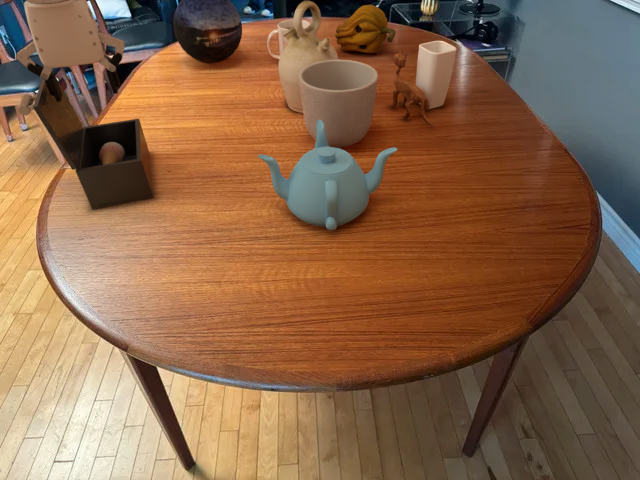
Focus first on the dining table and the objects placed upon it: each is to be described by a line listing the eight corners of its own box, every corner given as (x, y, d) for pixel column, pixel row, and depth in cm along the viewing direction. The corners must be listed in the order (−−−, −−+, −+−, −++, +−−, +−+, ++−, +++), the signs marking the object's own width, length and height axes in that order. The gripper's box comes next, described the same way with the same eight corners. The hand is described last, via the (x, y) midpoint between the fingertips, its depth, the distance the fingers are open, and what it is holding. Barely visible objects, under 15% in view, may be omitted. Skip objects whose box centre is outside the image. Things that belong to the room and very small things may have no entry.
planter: (383, 151, 105) (388, 86, 94) (309, 161, 102) (306, 95, 92) (362, 117, 117) (365, 56, 107) (296, 124, 115) (292, 63, 104)
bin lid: (49, 66, 88) (20, 74, 88) (37, 106, 76) (3, 115, 75) (82, 124, 97) (56, 132, 96) (76, 168, 85) (46, 177, 84)
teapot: (317, 169, 100) (316, 116, 92) (392, 199, 91) (398, 144, 83) (263, 209, 90) (256, 154, 82) (342, 248, 81) (343, 190, 73)
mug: (301, 70, 139) (299, 32, 132) (266, 64, 143) (263, 27, 136) (316, 58, 146) (315, 21, 139) (283, 53, 150) (280, 16, 143)
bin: (149, 153, 106) (138, 118, 100) (153, 197, 93) (141, 160, 87) (95, 163, 103) (81, 127, 97) (92, 209, 91) (75, 171, 85)
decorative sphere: (259, 58, 148) (251, -12, 134) (211, 79, 136) (198, 5, 123) (216, 45, 157) (205, -22, 144) (168, 63, 145) (151, -7, 132)
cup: (449, 107, 120) (459, 48, 110) (425, 113, 118) (434, 54, 108) (432, 96, 125) (440, 39, 115) (409, 102, 123) (416, 44, 113)
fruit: (353, 45, 160) (409, 33, 150) (337, 68, 151) (396, 57, 141) (340, 4, 151) (399, -11, 142) (323, 26, 142) (385, 11, 132)
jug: (271, 99, 125) (262, -2, 108) (321, 86, 131) (319, -12, 114) (298, 123, 115) (292, 15, 98) (350, 108, 121) (353, 3, 104)
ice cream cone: (123, 176, 89) (130, 153, 102) (106, 156, 86) (116, 135, 99) (102, 189, 89) (112, 164, 102) (85, 169, 86) (97, 146, 99)
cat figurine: (444, 128, 112) (454, 72, 103) (422, 134, 110) (430, 78, 101) (401, 99, 124) (407, 46, 115) (380, 104, 122) (384, 51, 113)
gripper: (108, -20, 78) (137, 80, 89) (-6, -10, 74) (39, 93, 86) (107, -9, 73) (137, 96, 84) (-16, 3, 69) (34, 110, 80)
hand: (88, 94), depth 85 cm, fingers open, 9 cm apart
